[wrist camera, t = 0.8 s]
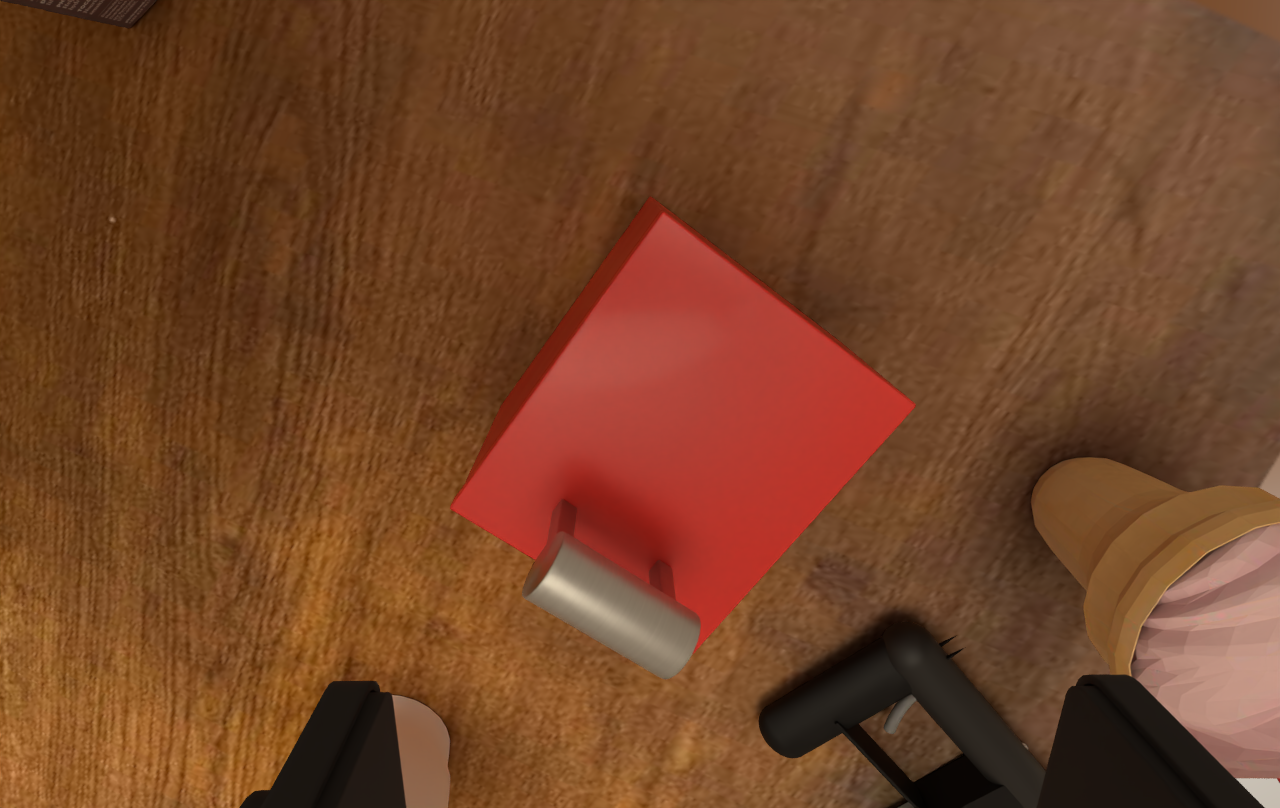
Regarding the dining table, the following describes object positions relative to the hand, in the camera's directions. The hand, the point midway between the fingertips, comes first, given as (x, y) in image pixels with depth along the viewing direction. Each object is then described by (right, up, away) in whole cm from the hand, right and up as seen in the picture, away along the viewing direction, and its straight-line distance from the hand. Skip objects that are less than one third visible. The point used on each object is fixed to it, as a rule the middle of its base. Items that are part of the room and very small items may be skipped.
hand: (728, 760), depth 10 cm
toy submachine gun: (+15, -17, +34) cm, 41 cm away
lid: (0, +3, +17) cm, 17 cm away
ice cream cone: (+22, 0, +28) cm, 36 cm away
